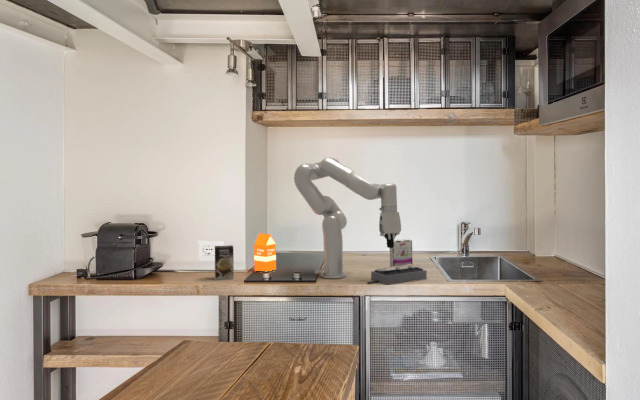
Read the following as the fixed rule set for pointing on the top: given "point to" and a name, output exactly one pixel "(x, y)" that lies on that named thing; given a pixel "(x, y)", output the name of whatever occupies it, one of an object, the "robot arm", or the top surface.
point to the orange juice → (265, 253)
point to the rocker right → (412, 265)
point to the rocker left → (386, 269)
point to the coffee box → (224, 262)
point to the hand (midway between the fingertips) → (390, 247)
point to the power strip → (398, 275)
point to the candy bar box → (401, 253)
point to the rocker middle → (401, 267)
